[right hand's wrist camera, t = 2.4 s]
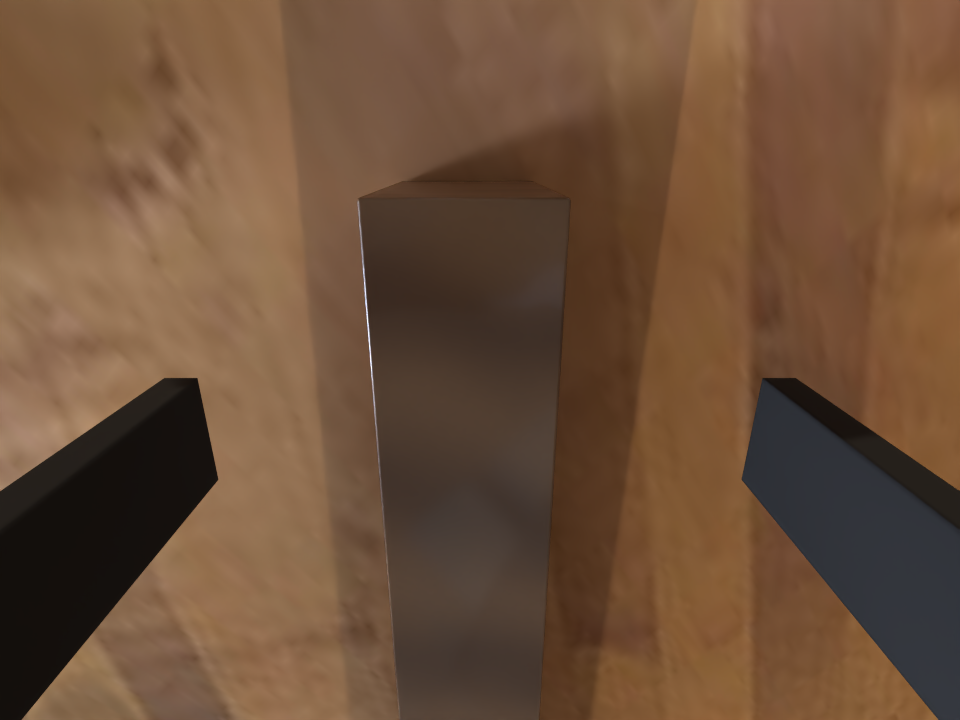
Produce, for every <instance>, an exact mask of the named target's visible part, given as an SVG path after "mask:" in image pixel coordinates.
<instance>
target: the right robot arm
mask: <svg viewBox="0 0 960 720" xmlns="http://www.w3.org/2000/svg"><path fill="white" fill-rule="evenodd" d="M217 481H218V476H217V471H216V466H215V461H214V456H213V451H212V447H211V442H210V437H209V432H208V427H207V422H206V418H205V413H204V408H203V403H202V398H201V393H200V388H199V384H198V379H197V378H164V379H162V380H161V381H160V382H158V383H157V384H155V385H154V386H152V387H151V388H149V389H148V390H146V391H145V392H144V393H142V394H141V395H139V396H138V397H136V398H135V399H133V400H132V401H131V402H129V403H128V404H126V405H125V406H123V407H122V408H120V409H119V410H117V411H116V412H115V413H113V414H112V415H110V416H109V417H107V418H106V419H104V420H103V421H102V422H100V423H99V424H97V425H96V426H94V427H93V428H91V429H90V430H89V431H87V432H86V433H84V434H83V435H81V436H80V437H78V438H77V439H75V440H74V441H73V442H71V443H70V444H68V445H67V446H65V447H64V448H62V449H61V450H60V451H58V452H57V453H55V454H54V455H52V456H51V457H49V458H48V459H46V460H45V461H44V462H42V463H41V464H39V465H38V466H36V467H35V468H33V469H32V470H31V471H29V472H28V473H26V474H25V475H23V476H22V477H20V478H19V479H17V480H16V481H15V482H13V483H12V484H10V485H9V486H7V487H6V488H4V489H3V490H2V491H0V720H22V718H23V717H24V716H25V715H26V714H27V712H28V711H29V710H30V709H31V707H32V706H33V705H34V704H35V703H36V701H37V700H38V699H39V698H40V696H41V695H42V694H43V693H44V692H45V690H46V689H47V688H48V687H49V685H50V684H51V683H52V682H53V681H54V679H55V678H56V677H57V676H58V675H59V673H60V672H61V671H62V670H63V668H64V667H65V666H66V665H67V664H68V662H69V661H70V660H71V659H72V657H73V656H74V655H75V654H76V653H77V651H78V650H79V649H80V648H81V646H82V645H83V644H84V643H85V642H86V640H87V639H88V638H89V637H90V635H91V634H92V633H93V632H94V631H95V629H96V628H97V627H98V626H99V625H100V623H101V622H102V621H103V620H104V618H105V617H106V616H107V615H108V614H109V612H110V611H111V610H112V609H113V607H114V606H115V605H116V604H117V603H118V601H119V600H120V599H121V598H122V596H123V595H124V594H125V593H126V592H127V590H128V589H129V588H130V587H131V585H132V584H133V583H134V582H135V581H136V579H137V578H138V577H139V576H140V575H141V573H142V572H143V571H144V570H145V568H146V567H147V566H148V565H149V564H150V562H151V561H152V560H153V559H154V557H155V556H156V555H157V554H158V553H159V551H160V550H161V549H162V548H163V546H164V545H165V544H166V543H167V542H168V540H169V539H170V538H171V537H172V535H173V534H174V533H175V532H176V531H177V529H178V528H179V527H180V526H181V524H182V523H183V522H184V521H185V520H186V518H187V517H188V516H189V515H190V514H191V512H192V511H193V510H194V509H195V507H196V506H197V505H198V504H199V503H200V501H201V500H202V499H203V498H204V496H205V495H206V494H207V493H208V492H209V490H210V489H211V488H212V487H213V485H214V484H215V483H216V482H217ZM742 481H743V482H744V483H745V484H746V485H747V487H748V488H749V489H750V490H751V492H752V493H753V494H754V495H755V496H756V498H757V499H758V500H759V501H760V503H761V504H762V505H763V506H764V507H765V509H766V510H767V511H768V512H769V514H770V515H771V516H772V517H773V518H774V520H775V521H776V522H777V523H778V524H779V526H780V527H781V528H782V529H783V531H784V532H785V533H786V534H787V535H788V537H789V538H790V539H791V540H792V542H793V543H794V544H795V545H796V546H797V548H798V549H799V550H800V551H801V553H802V554H803V555H804V556H805V557H806V559H807V560H808V561H809V562H810V564H811V565H812V566H813V567H814V568H815V570H816V571H817V572H818V573H819V575H820V576H821V577H822V578H823V579H824V581H825V582H826V583H827V584H828V585H829V587H830V588H831V589H832V590H833V592H834V593H835V594H836V595H837V596H838V598H839V599H840V600H841V601H842V603H843V604H844V605H845V606H846V607H847V609H848V610H849V611H850V612H851V614H852V615H853V616H854V617H855V618H856V620H857V621H858V622H859V623H860V625H861V626H862V627H863V628H864V629H865V631H866V632H867V633H868V634H869V635H870V637H871V638H872V639H873V640H874V642H875V643H876V644H877V645H878V646H879V648H880V649H881V650H882V651H883V653H884V654H885V655H886V656H887V657H888V659H889V660H890V661H891V662H892V664H893V665H894V666H895V667H896V668H897V670H898V671H899V672H900V673H901V675H902V676H903V677H904V678H905V679H906V681H907V682H908V683H909V684H910V686H911V687H912V688H913V689H914V690H915V692H916V693H917V694H918V695H919V696H920V698H921V699H922V700H923V701H924V703H925V704H926V705H927V706H928V707H929V709H930V710H931V711H932V712H933V714H934V715H935V716H936V717H937V718H938V720H960V491H959V490H957V489H956V488H954V487H953V486H951V485H950V484H948V483H947V482H945V481H944V480H943V479H941V478H940V477H938V476H937V475H935V474H934V473H932V472H931V471H929V470H928V469H927V468H925V467H924V466H922V465H921V464H919V463H918V462H916V461H915V460H914V459H912V458H911V457H909V456H908V455H906V454H905V453H903V452H902V451H900V450H899V449H898V448H896V447H895V446H893V445H892V444H890V443H889V442H887V441H886V440H885V439H883V438H882V437H880V436H879V435H877V434H876V433H874V432H873V431H871V430H870V429H869V428H867V427H866V426H864V425H863V424H861V423H860V422H858V421H857V420H856V419H854V418H853V417H851V416H850V415H848V414H847V413H845V412H844V411H843V410H841V409H840V408H838V407H837V406H835V405H834V404H832V403H831V402H829V401H828V400H827V399H825V398H824V397H822V396H821V395H819V394H818V393H816V392H815V391H814V390H812V389H811V388H809V387H808V386H806V385H805V384H803V383H802V382H800V381H799V380H798V379H796V378H763V379H762V384H761V388H760V393H759V398H758V403H757V408H756V413H755V418H754V422H753V427H752V432H751V437H750V442H749V447H748V451H747V456H746V461H745V466H744V471H743V476H742Z"/></svg>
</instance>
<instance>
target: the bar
mask: <svg viewBox="0 0 960 720" xmlns="http://www.w3.org/2000/svg"><path fill="white" fill-rule="evenodd" d="M357 205H358V218H359V230H360V242H361V255H362V267H363V279H364V292H365V304H366V316H367V329H368V341H369V354H370V366H371V378H372V391H373V403H374V415H375V428H376V440H377V452H378V465H379V477H380V489H381V502H382V514H383V527H384V539H385V551H386V564H387V576H388V588H389V601H390V613H391V625H392V638H393V650H394V663H395V675H396V687H397V700H398V712H399V720H539V716H540V700H541V683H542V667H543V650H544V634H545V617H546V601H547V584H548V568H549V551H550V535H551V518H552V502H553V485H554V469H555V452H556V436H557V419H558V403H559V386H560V370H561V353H562V337H563V320H564V304H565V287H566V271H567V254H568V238H569V221H570V205H571V200H570V198H568V197H566V196H563V195H561V194H559V193H557V192H555V191H552V190H550V189H548V188H546V187H543V186H541V185H539V184H537V183H534V182H532V181H402V182H400V183H397V184H394V185H392V186H389V187H387V188H384V189H381V190H379V191H376V192H373V193H371V194H368V195H365V196H363V197H360V198H358V200H357Z"/></svg>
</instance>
